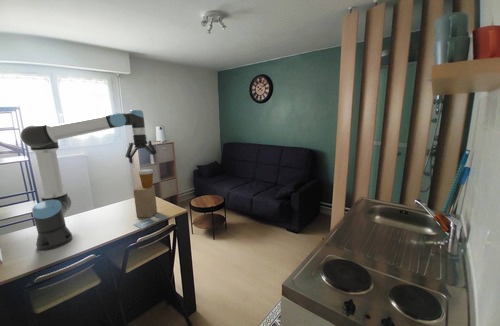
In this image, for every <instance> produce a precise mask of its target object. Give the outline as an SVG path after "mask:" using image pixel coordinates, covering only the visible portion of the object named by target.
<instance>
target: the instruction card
mask: <svg viewBox="0 0 500 326" xmlns="http://www.w3.org/2000/svg"><path fill="white" fill-rule="evenodd" d="M165 219H168V217H166V216H164V215H162V214H160V213H158V214H154V215H153V216H152V217H147V218H146V219H144V220H141V221H139V222H136V223H133V226H134V227H136V228H139V229H140V230H143V229H145V228H147V227H149V226H152V225H154V224H155V225H156V224H157V223H159V222H162V221H163V220H165Z"/></svg>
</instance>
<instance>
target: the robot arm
mask: <svg viewBox="0 0 500 326" xmlns="http://www.w3.org/2000/svg"><path fill="white" fill-rule="evenodd" d="M124 126H131V130H132V135H133V136H132V137H133V142H128V148H127V150H126V153H125V158H128V160H129V164H130V165H131V169H135V158H134V156H135V154H136V152H137V150H139V149H145V150H146V151H147V152H149V153H150V154H149V157H150V158H149V159H150V164H151V165H155V156H156V154H157V149H155V147H154V146H153V144H152V141H151V140H147V135H146V128H145V117H144V111H142V110H141V109H140V110H139V109H135V110H134V109H130V110H129V113H126V112H125V113H124V112H123V113H122V112H121V113H120V112H115V113H114V112H113V113H109V114H105V115H101V116H97V117H96V116H95V117H91V118H85V119H80V120H75V121H70V122H69V121H68V122H64V123H58V124H55V125H51V124H36V125H35V124H33V125H29V126H27V127H24V128H23V129H22V131H21V133H20V138H21V141H22V142H23V143H24V144H25V145H26V146H28V147H30V151H31V152H34V153H35V156H36V161H37V165H38V171H39V175H40V176H39V177H40V180H41V185H42V190H43V194H42V195H41V196H40V198H41V202H39V203H36V204H35V205H34V206H33V207H32V209H31V211H32V212H31V213H32V216H33V219H34V223H35V227H36V231H37V238H36V243H35V246H36V249H37V250H38V251H48V250H54V249H57V248H59V247H62V246H64V245H66V244H67V243H69V242H71V240H72V239H73V234H72V232H71V230H69V228H68V227H67V226H66V219H65V214H67V212H68V211H69V210H70V209H71V206H72V200H71V198H70V196H69V195H68V192H67V191H66V190H64V186H63V182H62V180H63V179H62V176H61V172H60V165H59V159H58V155H57V150H59V149H60V146H59V143H58V141H59V140H64V139H69V138H72V137H78V136H82V135H86V134H91V133H95V132H96V133H97V132H101V131H105V130H110V129H114V128H121V127H124Z"/></svg>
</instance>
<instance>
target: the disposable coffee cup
mask: <svg viewBox="0 0 500 326" xmlns="http://www.w3.org/2000/svg"><path fill="white" fill-rule="evenodd" d="M138 176H139V178H140V182H141V186H142V187H143V188H150V187H152V186H154V185H153V179H154V170H153V169H152V168H144V169H140V170H138Z"/></svg>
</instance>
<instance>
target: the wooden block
mask: <svg viewBox="0 0 500 326" xmlns="http://www.w3.org/2000/svg"><path fill="white" fill-rule="evenodd" d="M155 190H156V188H155V185H152V187H150V188H143V187H142V185H140V186H138V187H137V188H134V189H133V195H134V197H133V198H134V204H135V205H134V206H135V212H136V213H135V215H136V218H150V217H153V216H155V215H156V213H158V209H157V208H158V207H157V200H156V199H157V196H156V191H155Z"/></svg>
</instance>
